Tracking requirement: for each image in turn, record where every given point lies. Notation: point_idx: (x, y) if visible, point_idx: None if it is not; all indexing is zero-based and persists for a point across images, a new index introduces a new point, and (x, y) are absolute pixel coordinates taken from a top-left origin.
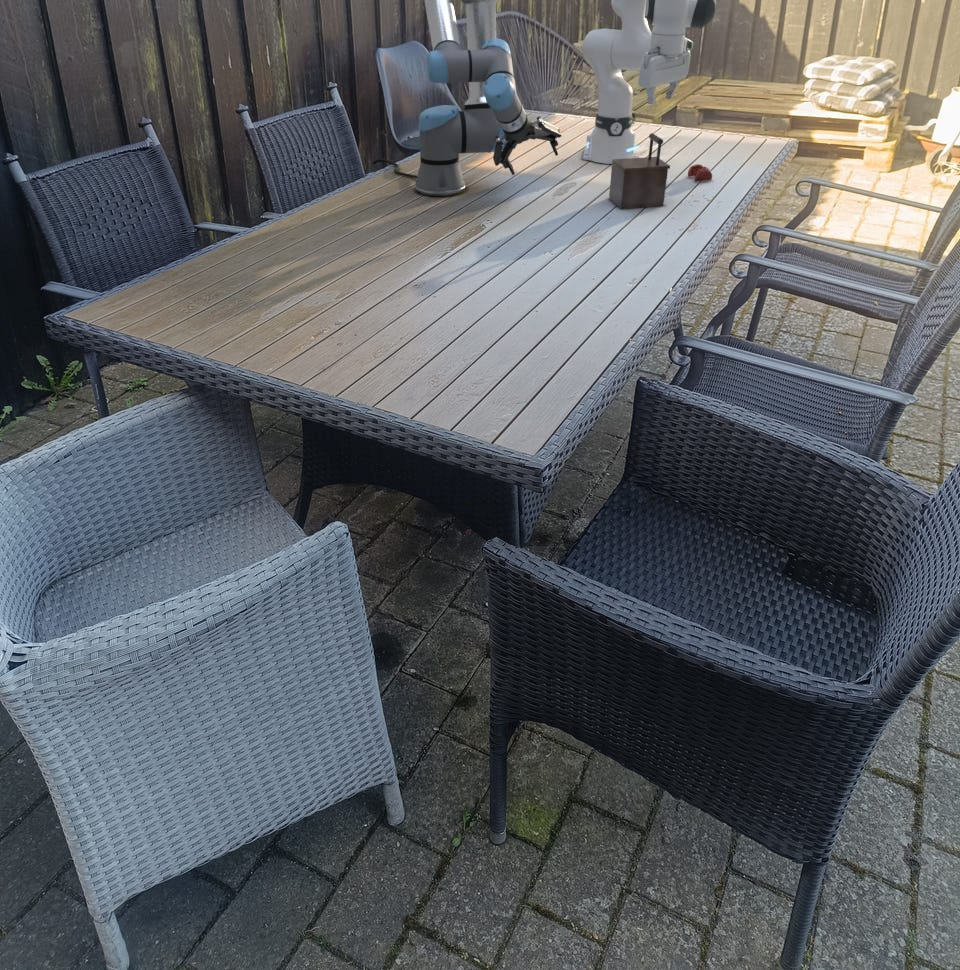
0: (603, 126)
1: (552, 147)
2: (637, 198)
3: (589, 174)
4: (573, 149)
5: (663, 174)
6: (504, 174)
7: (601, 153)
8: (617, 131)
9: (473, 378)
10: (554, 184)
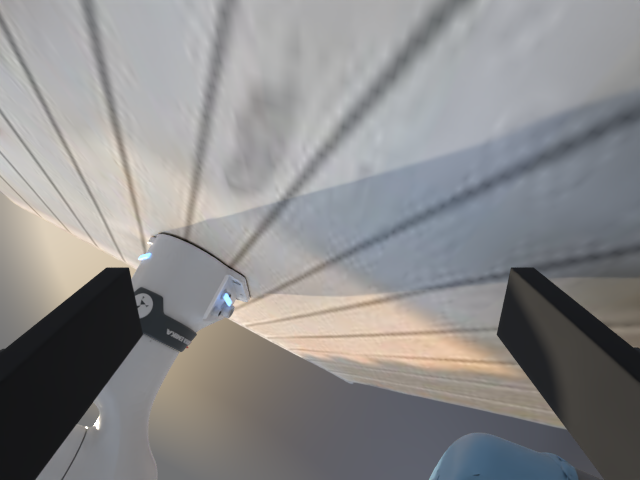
0: (165, 321)
1: (21, 357)
2: None
3: (211, 221)
4: (269, 305)
5: None
6: (438, 312)
7: (196, 270)
8: (140, 298)
9: None
10: (294, 204)
